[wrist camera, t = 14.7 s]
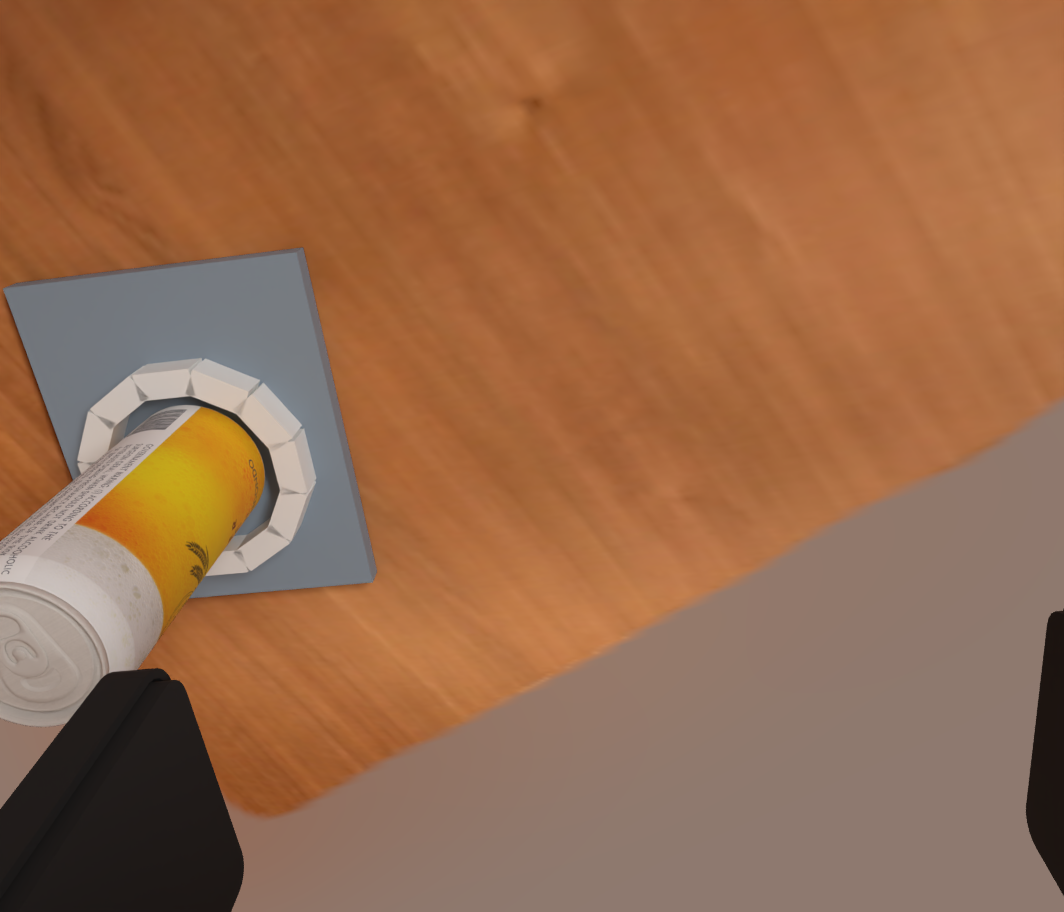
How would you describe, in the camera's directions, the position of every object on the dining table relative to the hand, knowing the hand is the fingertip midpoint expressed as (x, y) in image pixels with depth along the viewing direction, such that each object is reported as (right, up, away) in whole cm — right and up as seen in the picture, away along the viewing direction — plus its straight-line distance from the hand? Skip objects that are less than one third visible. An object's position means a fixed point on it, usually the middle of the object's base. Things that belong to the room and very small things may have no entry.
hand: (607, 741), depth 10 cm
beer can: (-16, +3, +32) cm, 36 cm away
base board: (-16, +4, +32) cm, 36 cm away
